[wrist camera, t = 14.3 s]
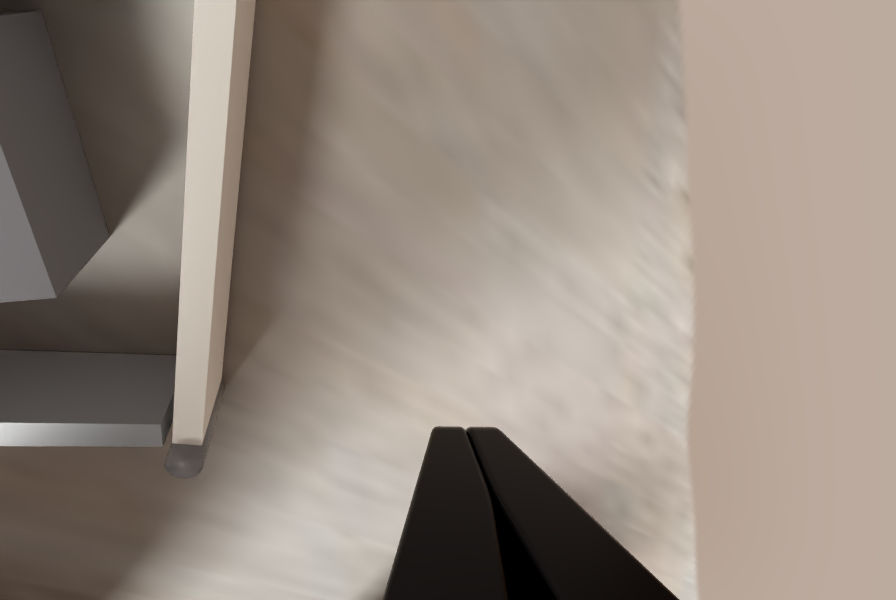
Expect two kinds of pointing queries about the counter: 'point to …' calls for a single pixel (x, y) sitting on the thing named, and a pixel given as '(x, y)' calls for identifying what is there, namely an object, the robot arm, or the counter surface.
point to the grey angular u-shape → (85, 399)
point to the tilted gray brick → (40, 170)
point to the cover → (209, 221)
